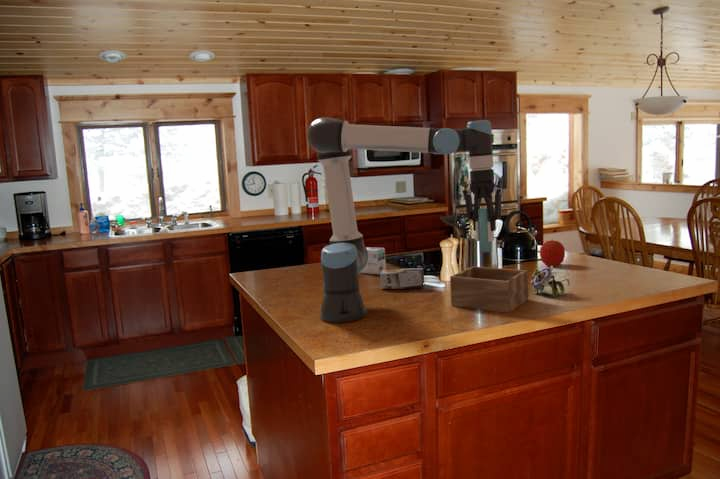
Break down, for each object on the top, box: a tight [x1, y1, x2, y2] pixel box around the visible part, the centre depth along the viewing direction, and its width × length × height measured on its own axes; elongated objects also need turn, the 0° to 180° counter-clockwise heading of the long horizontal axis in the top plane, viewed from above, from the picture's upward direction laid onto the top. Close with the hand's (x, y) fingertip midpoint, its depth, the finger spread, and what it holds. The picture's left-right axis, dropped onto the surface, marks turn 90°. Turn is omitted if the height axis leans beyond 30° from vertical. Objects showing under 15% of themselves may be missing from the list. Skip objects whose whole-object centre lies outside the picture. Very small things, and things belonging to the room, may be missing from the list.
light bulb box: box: [358, 246, 387, 275], centre depth 245 cm, size 11×7×11 cm, turn 58°
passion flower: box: [530, 265, 571, 299], centre depth 192 cm, size 11×11×12 cm
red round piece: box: [539, 239, 566, 268], centre depth 235 cm, size 10×10×12 cm
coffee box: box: [379, 267, 425, 290], centre depth 216 cm, size 9×6×16 cm
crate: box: [449, 265, 529, 314], centre depth 186 cm, size 17×20×10 cm
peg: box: [478, 207, 492, 253], centre depth 182 cm, size 4×4×14 cm
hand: (485, 240), depth 183 cm, fingers closed on peg, 3 cm apart
